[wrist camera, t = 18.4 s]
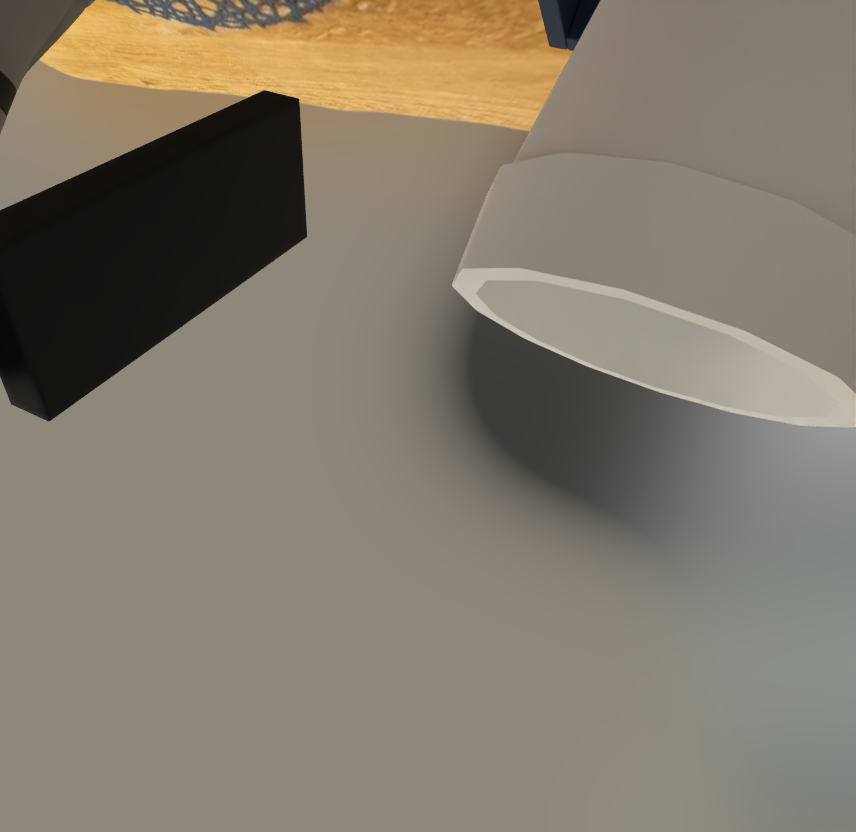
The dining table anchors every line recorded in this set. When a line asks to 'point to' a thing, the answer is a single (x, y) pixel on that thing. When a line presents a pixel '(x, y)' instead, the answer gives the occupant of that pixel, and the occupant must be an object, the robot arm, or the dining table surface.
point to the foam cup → (690, 207)
